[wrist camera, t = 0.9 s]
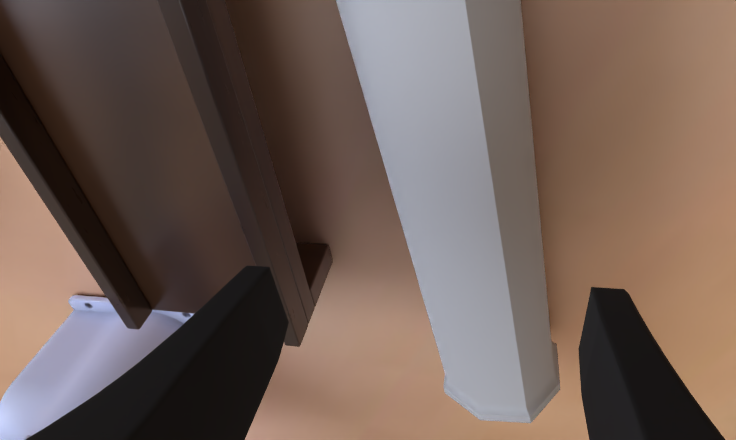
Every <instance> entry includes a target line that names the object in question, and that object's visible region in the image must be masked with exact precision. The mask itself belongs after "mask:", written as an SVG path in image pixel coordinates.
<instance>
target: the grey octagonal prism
mask: <svg viewBox="0 0 736 440" xmlns="http://www.w3.org/2000/svg"><path fill="white" fill-rule="evenodd" d="M336 2H337V6H338V9H339V13H340V16H341V19H342V23H343V26H344V30H345V33H346V37H347V40H348V43H349V47H350V50H351V54H352V57H353V60H354V64H355V67H356V71H357V74H358V78H359V81H360V84H361V88H362V91H363V95H364V98H365V102H366V105H367V108H368V112H369V115H370V119H371V122H372V125H373V129H374V132H375V136H376V139H377V143H378V146H379V149H380V153H381V156H382V160H383V163H384V166H385V170H386V173H387V177H388V180H389V184H390V187H391V190H392V194H393V197H394V201H395V204H396V207H397V211H398V214H399V218H400V221H401V225H402V228H403V231H404V235H405V238H406V242H407V245H408V248H409V252H410V255H411V259H412V262H413V266H414V269H415V272H416V276H417V279H418V283H419V286H420V289H421V293H422V296H423V300H424V303H425V307H426V310H427V313H428V317H429V320H430V324H431V327H432V331H433V334H434V337H435V341H436V344H437V348H438V351H439V354H440V358H441V361H442V365H443V368H444V372H445V379H444V391H445V393H446V394H447V395H448V396H450V397H451V398H452V399H454V400H455V401H456V402H458V403H459V404H460V405H461V406H463V407H464V408H465V409H467V410H468V411H469V412H470V413H472V414H473V415H474V416H476V417H477V418H478V419H480V420H488V421H504V422H521V423H531V422H532V421H533V420H534V419H535V418H536V417H537V416H538V414H539V413H540V412H541V411H542V410H543V409H544V407H545V406H546V405H547V404H548V403H549V402H550V401H551V399H552V398H553V397H554V396H555V395H556V394H557V392H558V391H559V390H560V380H559V366H558V353H557V344H556V343H554V342H552V341H551V333H550V322H549V311H548V299H547V288H546V277H545V266H544V255H543V244H542V232H541V221H540V210H539V199H538V188H537V177H536V165H535V154H534V143H533V132H532V121H531V110H530V99H529V87H528V76H527V65H526V54H525V43H524V32H523V20H522V9H521V0H336Z"/></svg>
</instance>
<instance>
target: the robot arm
mask: <svg viewBox="0 0 736 440" xmlns="http://www.w3.org/2000/svg"><path fill="white" fill-rule="evenodd" d="M69 304H70V305H71V306H72V308H73V309H74V311H73V312H72V313H71V314H70V315H69V317H68V318H67V319H66V320H65V321H64V322H63V324H62V325H61V326H60V327H59V328H58V329H57V331H56V332H55V333H54V334H53V335H52V336H51V338H50V339H49V340H48V341H47V342H46V343H45V345H44V346H43V347H42V348H41V349H40V351H39V352H38V353H37V354H36V355H35V356H34V358H33V359H32V360H31V361H30V362H29V363H28V365H27V366H26V367H25V368H24V369H23V370H22V372H21V373H20V374H19V375H18V376H17V377H16V379H15V380H14V381H13V382H12V384H11V385H10V386H9V388H8V389H7V391H6V392H5V394H4V396H3V398H2V400H1V402H0V440H245V437H246V435H247V433H248V430H249V428H250V426H251V423H252V421H253V419H254V416H255V414H256V412H257V410H258V407H259V405H260V403H261V400H262V398H263V396H264V393H265V391H266V389H267V386H268V384H269V382H270V379H271V377H272V374H273V372H274V370H275V367H276V365H277V362H278V359H279V356H280V353H281V349H282V346H283V343H284V339H285V335H286V331H287V328H288V324H289V321H288V318H287V315H286V313H285V310H284V307H283V304H282V301H281V298H280V295H279V293H278V290H277V287H276V284H275V281H274V278H273V275H272V273H271V270H270V267H263V266H246V267H244V268H243V269H242V270H241V271H240V272H239V273H238V274H237V275H236V276H235V277H233V278H232V279H231V280H230V281H229V282H228V283H227V284H226V285H225V286H224V287H223V288H222V289H221V290H220V291H219V292H218V293H216V294H215V295H214V296H213V297H212V298H211V299H210V300H209V301H208V302H207V303H206V304H205V305H204V306H203V307H201V308H200V309H199V310H198V311H197V312H196V313H195V314H193V313H182V312H171V311H160V310H152V312H151V314H150V315H149V317H148V318H147V320H146V321H145V322H144V324H143V325H142V327H141V328H140V329H139V330H136V329H128V328H127V327H126V326H125V324H124V323H123V321H122V320H121V318H120V317H119V315H118V314H117V312H116V311H115V309H114V308H113V306H112V305H111V303H110V301H109V300H108V298H105V297H94V296H82V295H73V296H72V297H71V298H70V299H69ZM579 363H580V379H581V393H582V400H583V406H584V412H585V417H586V423H587V429H588V434H589V440H725V439H724V437H723V436H722V435H721V434H720V432H719V431H718V430H717V428H716V427H715V426H714V424H713V423H712V422H711V420H710V419H709V418H708V416H707V415H706V414H705V412H704V411H703V410H702V408H701V407H700V406H699V404H698V403H697V401H696V400H695V399H694V397H693V396H692V395H691V393H690V392H689V390H688V389H687V387H686V386H685V384H684V383H683V381H682V380H681V379H680V377H679V376H678V374H677V373H676V371H675V370H674V368H673V367H672V365H671V364H670V362H669V361H668V359H667V358H666V356H665V355H664V353H663V352H662V350H661V348H660V347H659V345H658V344H657V342H656V340H655V339H654V337H653V336H652V334H651V332H650V331H649V329H648V327H647V326H646V324H645V322H644V321H643V319H642V317H641V315H640V314H639V312H638V310H637V308H636V306H635V305H634V303H633V301H632V299H631V297H630V295H629V294H628V293H627V292H626V291H625V290H624V289H611V288H596V287H591V292H590V297H589V302H588V307H587V311H586V316H585V321H584V326H583V331H582V336H581V340H580V345H579Z"/></svg>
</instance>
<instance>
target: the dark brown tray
mask: <svg viewBox="0 0 736 440" xmlns="http://www.w3.org/2000/svg"><path fill="white" fill-rule="evenodd" d="M0 137H1V138H2V140H3V141H4V143H5V144H6V146H7V147H8V149H9V150H10V152H11V153H12V155H13V156H14V158H15V159H16V161H17V162H18V164H19V165H20V167H21V169H22V170H23V172H24V173H25V175H26V176H27V178H28V179H29V181H30V182H31V184H32V185H33V187H34V188H35V190H36V191H37V193H38V194H39V196H40V197H41V199H42V200H43V202H44V203H45V205H46V206H47V208H48V209H49V211H50V212H51V214H52V215H53V217H54V218H55V220H56V221H57V223H58V224H59V226H60V227H61V229H62V230H63V232H64V233H65V235H66V237H67V238H68V240H69V241H70V243H71V244H72V246H73V247H74V249H75V250H76V252H77V253H78V255H79V256H80V258H81V259H82V261H83V262H84V264H85V265H86V267H87V268H88V270H89V271H90V273H91V274H92V276H93V277H94V279H95V280H96V282H97V283H98V285H99V286H100V288H101V289H102V291H103V292H104V294H105V295H106V297H107V298H108V300H109V301H110V303H111V305H112V306H113V308H114V309H115V311H116V312H117V314H118V315H119V317H120V318H121V320H122V321H123V323H124V324H125V326H126V327H127V328H128V329H136V330H139V329H140V328H141V327H142V325H143V324H144V322H145V321H146V320H147V318H148V317H149V315H150V314H151V312H152V310H160V311H171V312H182V313H193V314H195V313H196V312H197V311H198V310H199V309H200V308H201V307H203V306H204V305H205V304H206V303H207V302H208V301H209V300H210V299H211V298H212V297H213V296H214V295H215V294H216V293H218V292H219V291H220V290H221V289H222V288H223V287H224V286H225V285H226V284H227V283H228V282H229V281H230V280H231V279H232V278H233V277H235V276H236V275H237V274H238V273H239V272H240V271H241V270H242V269H243V268H244V267H246V266H263V267H270V270H271V273H272V275H273V278H274V281H275V284H276V287H277V290H278V293H279V295H280V298H281V301H282V304H283V307H284V310H285V313H286V315H287V318H288V321H289V324H288V328H287V331H286V335H285V339H284V343H285V345H288V346H297V347H299V346H300V345H301V343H302V340H303V337H304V335H305V332H306V330H307V327H308V323H309V321H310V319H311V316H312V314H313V311H314V308H315V306H316V303H317V301H318V298H319V296H320V293H321V291H322V288H323V285H324V283H325V280H326V278H327V275H328V272H329V270H330V267H331V265H332V258H331V253H330V249H329V245H325V244H304V243H296V242H295V239H294V235H293V232H292V228H291V225H290V222H289V218H288V215H287V211H286V208H285V205H284V201H283V198H282V194H281V191H280V187H279V184H278V181H277V177H276V174H275V170H274V167H273V164H272V160H271V157H270V153H269V150H268V147H267V143H266V140H265V136H264V133H263V129H262V126H261V123H260V119H259V116H258V112H257V109H256V106H255V102H254V99H253V95H252V92H251V88H250V85H249V82H248V78H247V75H246V71H245V68H244V65H243V61H242V58H241V54H240V51H239V48H238V44H237V41H236V37H235V34H234V30H233V27H232V24H231V20H230V17H229V13H228V10H227V7H226V3H225V0H0Z"/></svg>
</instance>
